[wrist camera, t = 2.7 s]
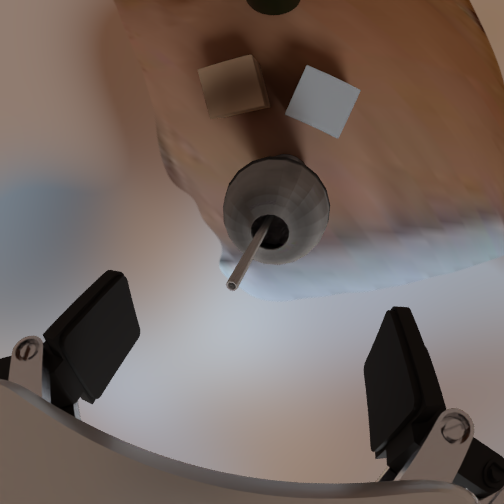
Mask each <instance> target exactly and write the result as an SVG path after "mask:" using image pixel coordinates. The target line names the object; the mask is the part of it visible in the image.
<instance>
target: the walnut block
mask: <svg viewBox="0 0 504 504" xmlns="http://www.w3.org/2000/svg"><path fill="white" fill-rule="evenodd" d="M198 73H199V77H200V81H201V85H202V89H203V93H204V97H205V101H206V105H207V109H208V113H209V117H210V119H214V118H226V117H230V116H234V115H238V114H242V113H246V112H251V111H255V110H260V109H265V108H270V107H271V106H270V102H269V98H268V94H267V90H266V86H265V82H264V78H263V74H262V71H261V67H260V64H259V63H258V61H257V60H256V59H255V58H254V57H253V56H252V54H250V55H246V56H242V57H238V58H235V59H231V60H227V61H224V62H220V63H217V64H214V65H211V66H208V67H204V68H201V69H198Z"/></svg>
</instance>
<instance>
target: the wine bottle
mask: <svg viewBox="0 0 504 504" xmlns="http://www.w3.org/2000/svg"><path fill="white" fill-rule="evenodd" d="M247 2H248V4H249V5H250V6H251V7H252V8H253V9H254V10H256V11H257V12H260V13H262V14H267V15H280V14H284V13H287V12H289V11H291V10H293V9H294V8H295V7H296V6H297V5H298V4H299V2H300V0H247Z"/></svg>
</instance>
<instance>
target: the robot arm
mask: <svg viewBox="0 0 504 504" xmlns="http://www.w3.org/2000/svg"><path fill="white" fill-rule="evenodd" d="M43 336H44V338H45V340H46V341H45V342H44V343H43V342H42V340H41V339H40V338H39V337H37V336H28V337H25V338H23V339H21V340H20V341H19V342H18V343H17V344H16V345H15V347H14V348H13V351H12V356H9V357H5V358H2V359H0V504H504V458H503V457H502V456H500V455H499V454H497V453H496V452H495V451H493V450H491V449H490V448H489V447H487V446H486V445H484V444H482V443H481V442H480V441H478V440H477V439H475V438H474V437H473V435H474V424H473V422H472V419H471V418H470V416H469V415H468V414H467V413H465V412H464V411H463V410H460V409H456V408H451V409H447V410H446V406H445V403H444V400H443V396H442V392H441V389H440V386H439V383H438V379H437V376H436V373H435V370H434V367H433V364H432V361H431V359H430V356H429V353H428V350H427V348H426V347H425V345H424V343H423V340H422V337H421V335H420V332H419V330H418V327H417V324H416V322H415V320H414V317H413V315H412V313H411V310H410V308H407V307H393V308H392V309H391V310H388V311H387V312H386V314H385V317H384V319H383V322H382V324H381V327H380V329H379V332H378V334H377V337H376V339H375V341H374V344H373V346H372V348H371V351H370V353H369V355H368V357H367V360H366V362H365V365H364V378H365V386H366V395H367V405H368V416H369V428H370V444H371V450H372V451H373V452H375V456H376V457H375V458H376V459H380V458H387V466H388V467H387V468H386V469H385V470H384V472H383V473H382V474H381V476H380V477H379V478H378V479H377V480H376V481H375V482H370V483H350V484H324V483H323V484H322V483H321V484H320V483H318V484H317V483H297V482H284V481H274V480H266V479H258V478H252V477H245V476H239V475H234V474H229V473H224V472H219V471H215V470H210V469H206V468H202V467H198V466H195V465H191V464H187V463H184V462H180V461H177V460H174V459H170V458H167V457H164V456H162V455H159V454H156V453H153V452H150V451H147V450H145V449H142V448H140V447H137V446H134V445H132V444H130V443H127V442H124V441H122V440H120V439H118V438H116V437H113V436H111V435H109V434H107V433H105V432H103V431H100V430H98V429H96V428H94V427H92V426H90V425H88V424H86V423H85V422H82V421H81V418H80V412H79V405H78V399H79V398H80V397H81V398H82V399H83V400H85V401H87V402H89V403H91V404H93V403H94V401H95V399H98V398H99V397H100V396H101V395H102V393H103V392H104V390H105V389H106V387H107V385H108V384H109V382H110V380H111V379H112V377H113V376H114V374H115V373H116V371H117V370H118V368H119V367H120V365H121V364H122V362H123V361H124V359H125V357H126V356H127V354H128V353H129V351H130V350H131V348H132V347H133V345H134V344H135V342H136V341H137V340H138V338H139V336H140V327H139V324H138V320H137V317H136V313H135V309H134V305H133V302H132V298H131V294H130V289H129V285H128V281H127V278H126V277H125V276H124V274H123V273H122V272H118V271H113V270H108V271H106V272H105V273H104V274H103V275H102V276H101V277H100V278H98V280H96V281H95V282H94V283H93V284H92V285H91V286H90V287H89V288H88V289H87V290H86V291H85V292H84V293H83V294H82V295H81V296H80V297H79V298H78V299H77V300H76V301H75V302H74V303H73V304H72V305H71V306H70V307H69V308H68V309H67V310H66V311H65V312H64V313H63V314H62V315H61V316H60V317H59V318H58V319H57V320H56V321H55V322H54V323H53V324H52V325H51V326H50V327H49V328H48V329H47V331H46V332H45V333H44V334H43Z"/></svg>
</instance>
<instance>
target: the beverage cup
mask: <svg viewBox="0 0 504 504" xmlns="http://www.w3.org/2000/svg"><path fill="white" fill-rule="evenodd" d="M329 211H330V203H329V199H328V194H327V190H326V188H325V186H324V185H323V183H322V182H321V180H320V178H319V177H318V175H317V174H316V173H314V172H313V171H312V170H311V169H309V168H308V167H307V166H306V165H305V164H304V163H303V162H302V161H301V160H300V159H298V158H297V157H295V156H292V155H287V154H281V155H278V156H274V157H270V156H269V157H265V158H262V159H258V160H255V161H252V162H250V163H249V164H247V165H246V166H245V167H243V168H242V169H240V170H239V171H238V172H237V173H236V175H235V176H234V178H233V179H232V180H231V182H230V183H229V186H228V189H227V192H226V196H225V200H224V205H223V215H224V224H225V227H226V230H227V232H228V235H229V237H230V239H231V240H232V242H233V243H234V244H235V246H236V247H237V248H238V249H239V250H240V251H241V252H242V253H244V254H243V256H242V258H241V259H240V261H239V263H238V265H237V266H236V268H235V270H234V271H233V273H232V275H231V276H230V278H229V280H228V282H227V284H226V286H227V288H228V289H229V290H232V291H235V290H236V289H237V288H238V286H239V284H240V282H241V280H242V279H243V277H244V275H245V273H246V271H247V269H248V267H249V265H250V263H251V261H252V260H256V261H258V262H261V263H264V264H274V265H280V264H285V263H290V262H294V261H296V260H298V259H300V258H302V257H304V256H305V255H307V254H308V253H309V252H310V251H311V250H312V249H313V248H314V247H315V246H316V245H317V244H318V243H319V241H320V239H321V237H322V235H323V233H324V231H325V228H326V226H327V223H328V220H329Z"/></svg>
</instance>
